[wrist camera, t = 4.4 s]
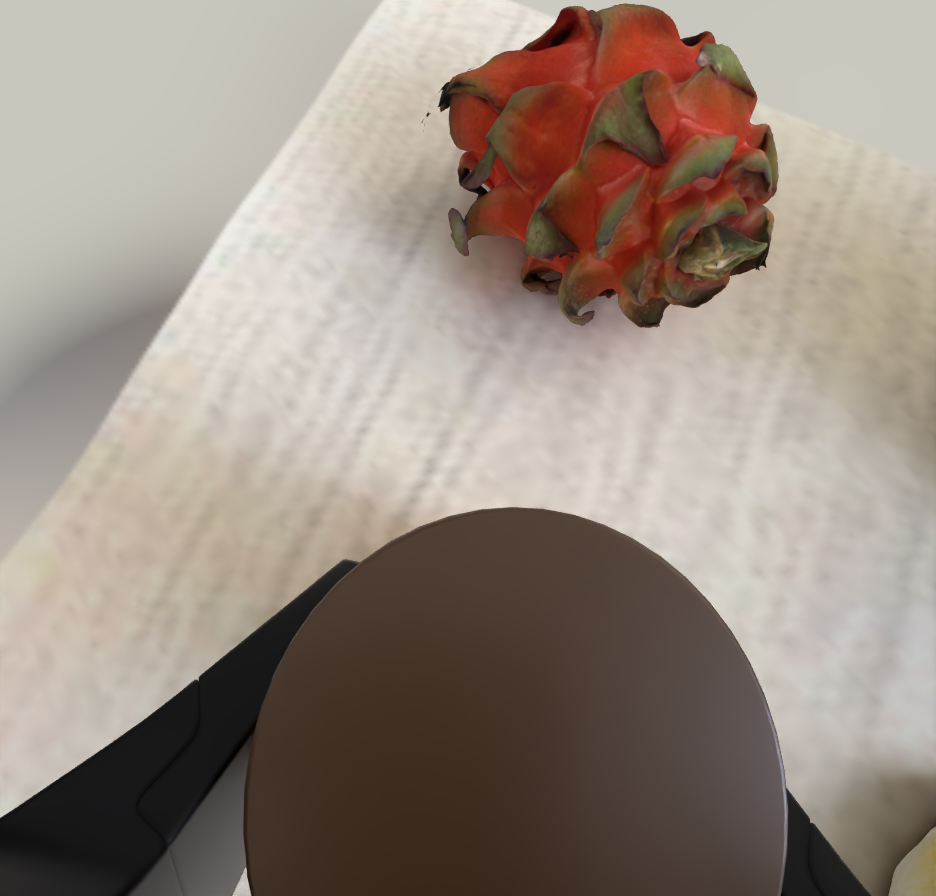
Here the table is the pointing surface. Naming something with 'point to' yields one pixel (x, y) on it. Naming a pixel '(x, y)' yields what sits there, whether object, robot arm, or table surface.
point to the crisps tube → (515, 727)
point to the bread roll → (917, 870)
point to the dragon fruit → (616, 161)
